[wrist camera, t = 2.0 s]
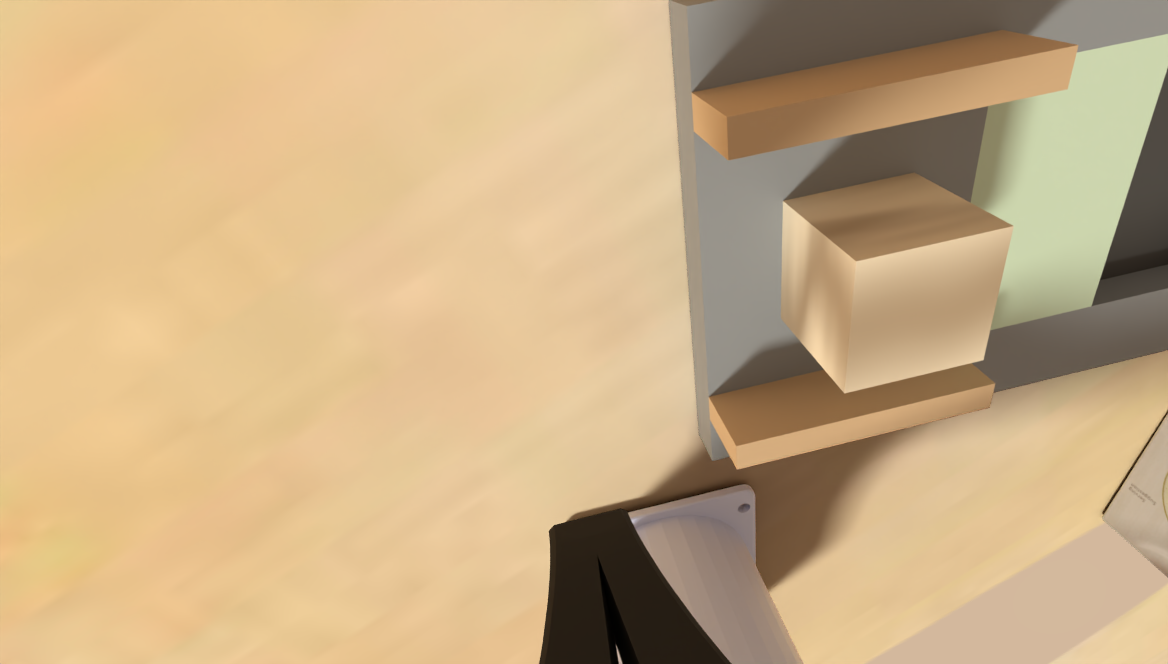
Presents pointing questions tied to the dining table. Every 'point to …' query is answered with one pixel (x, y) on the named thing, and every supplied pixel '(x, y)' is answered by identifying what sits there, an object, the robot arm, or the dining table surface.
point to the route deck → (939, 154)
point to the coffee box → (1145, 502)
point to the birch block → (890, 279)
